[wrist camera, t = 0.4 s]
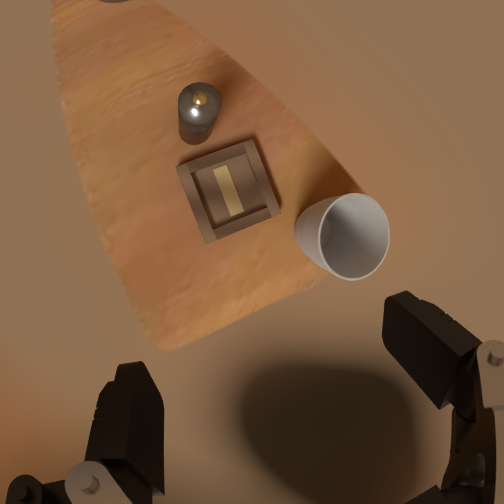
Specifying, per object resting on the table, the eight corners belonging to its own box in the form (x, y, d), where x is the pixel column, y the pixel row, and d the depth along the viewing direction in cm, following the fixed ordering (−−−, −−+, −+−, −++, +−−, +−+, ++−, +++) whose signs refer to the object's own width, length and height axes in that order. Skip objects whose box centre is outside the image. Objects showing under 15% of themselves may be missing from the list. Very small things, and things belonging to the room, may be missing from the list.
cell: (174, 121, 30) (172, 87, 21) (204, 111, 31) (213, 74, 21) (185, 149, 31) (186, 124, 21) (215, 138, 32) (228, 110, 22)
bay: (176, 168, 31) (175, 166, 30) (250, 141, 33) (252, 139, 31) (205, 243, 33) (206, 244, 32) (277, 213, 34) (281, 213, 33)
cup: (333, 267, 37) (378, 285, 27) (274, 256, 35) (308, 272, 25) (346, 206, 36) (396, 206, 27) (289, 189, 34) (329, 182, 25)
